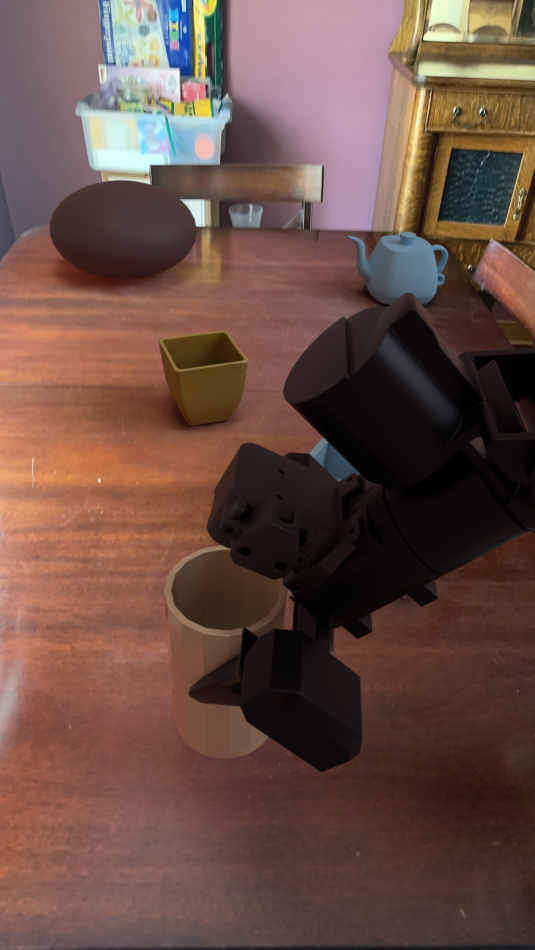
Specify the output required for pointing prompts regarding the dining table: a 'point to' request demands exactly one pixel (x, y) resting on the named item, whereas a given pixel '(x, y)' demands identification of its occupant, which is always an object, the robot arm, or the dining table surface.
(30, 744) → the dining table surface
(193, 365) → the flower pot
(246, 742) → the tumbler
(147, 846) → the dining table surface
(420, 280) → the teapot
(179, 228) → the smooth stone
